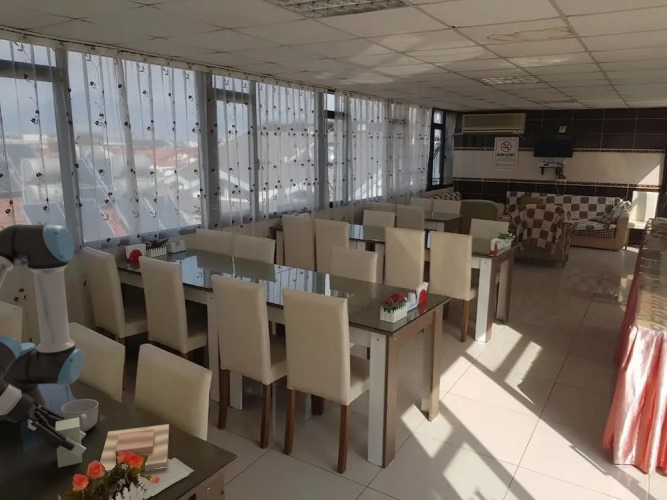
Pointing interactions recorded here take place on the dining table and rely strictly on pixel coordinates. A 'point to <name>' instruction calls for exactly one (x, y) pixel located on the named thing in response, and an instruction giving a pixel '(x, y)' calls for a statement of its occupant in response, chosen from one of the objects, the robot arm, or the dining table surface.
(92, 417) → the teacup
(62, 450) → the pillar block
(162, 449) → the stand
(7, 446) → the dining table surface
